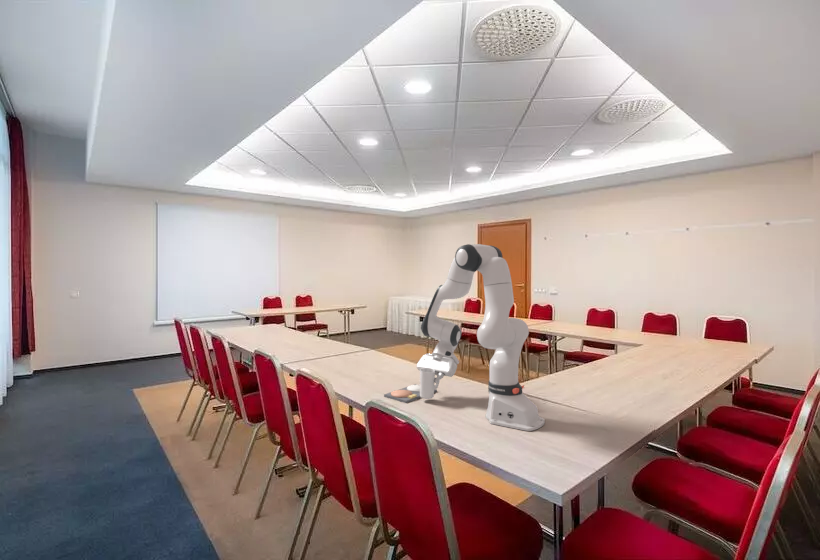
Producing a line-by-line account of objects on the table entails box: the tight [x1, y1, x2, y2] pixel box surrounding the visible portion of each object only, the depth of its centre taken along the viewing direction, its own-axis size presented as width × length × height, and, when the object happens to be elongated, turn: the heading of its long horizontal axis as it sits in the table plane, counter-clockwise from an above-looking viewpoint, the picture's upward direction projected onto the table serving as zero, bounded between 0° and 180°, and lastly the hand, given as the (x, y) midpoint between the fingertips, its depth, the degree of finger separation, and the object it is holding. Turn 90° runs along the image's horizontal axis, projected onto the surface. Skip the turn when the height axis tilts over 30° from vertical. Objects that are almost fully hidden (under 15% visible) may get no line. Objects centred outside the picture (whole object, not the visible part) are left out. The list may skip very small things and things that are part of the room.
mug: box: [419, 368, 441, 399], centre depth 178 cm, size 10×7×12 cm, turn 119°
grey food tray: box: [383, 383, 438, 404], centre depth 187 cm, size 14×22×2 cm, turn 138°
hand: (428, 380), depth 177 cm, fingers closed on mug, 6 cm apart
